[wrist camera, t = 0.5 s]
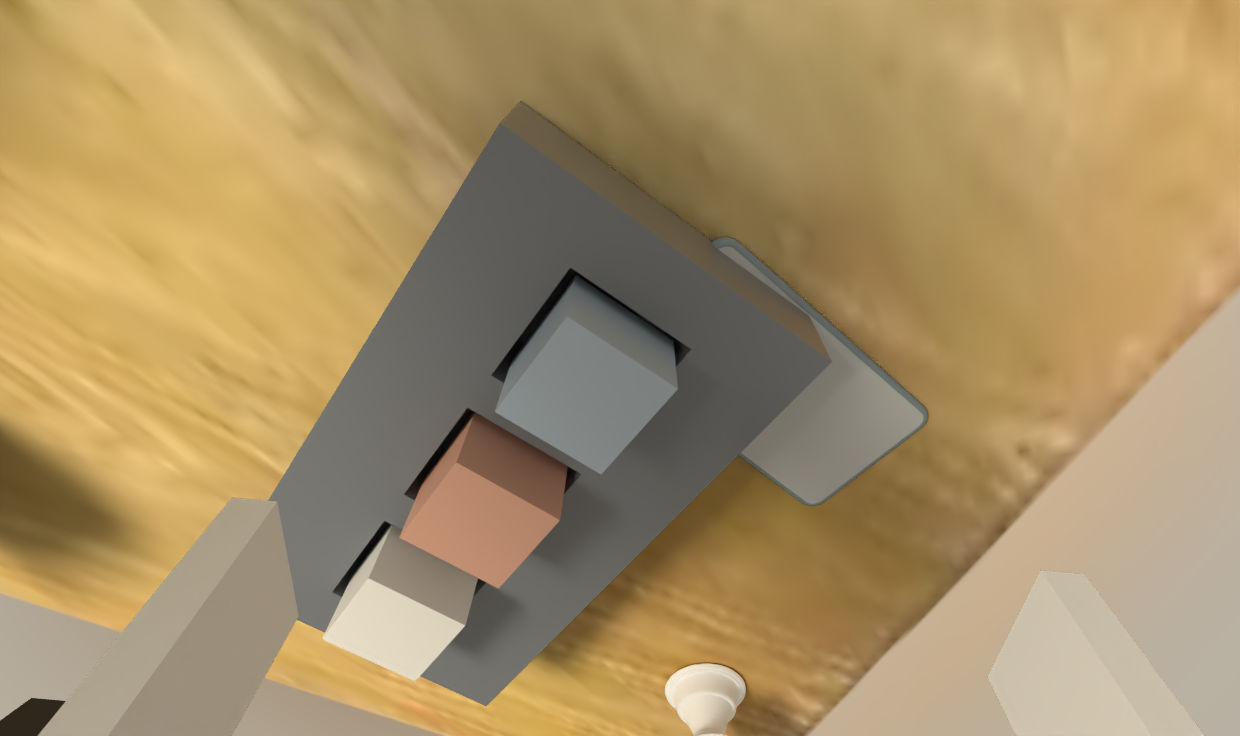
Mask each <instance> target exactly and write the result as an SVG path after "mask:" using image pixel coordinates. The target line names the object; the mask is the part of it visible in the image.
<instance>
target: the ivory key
mask: <svg viewBox="0 0 1240 736" xmlns="http://www.w3.org/2000/svg"><path fill="white" fill-rule="evenodd" d="M401 532H402V530H401V529H399V528H397V527H395V526H393V525H390V526H389V527H388V529H387V530H386V531H385V533H384V534H383V535H382V537H381V538H380V539H379V541H378V542H377V543H376V545H375V546H374V547H373V549H372V550H371V551H370V553H369V554H368V556H367V557H366V558H365V560H364V561H363V562H362V564H361V565H360V566H359V568H358V569H357V570H356V572H355V573H354V574H353V576H352V577H351V579H350V581H349V584H348V586H347V588H346V590H345V592H344V594H343V596H342V598H341V600H340V602H339V604H338V607H337V609H336V611H335V613H334V615H333V617H332V619H331V621H330V623H329V625H328V627H327V630H326V632H325V634H324V636H323V638H322V639H323V640H325V641H327V642H329V643H331V644H334V645H336V646H338V647H340V648H342V649H345V650H347V651H349V652H351V653H353V654H356V655H358V656H360V657H362V658H365V659H367V660H369V661H371V662H373V663H376V664H378V665H380V666H382V667H384V668H387V669H389V670H391V671H393V672H395V673H398V674H400V675H402V676H404V677H406V678H409V679H411V680H413V681H416V680H417V679H418V678H419V677H420V676H421V674H422V673H423V672H424V671H425V670H426V669H427V668H428V667H429V666H430V664H431V663H432V662H433V661H434V660H435V659H436V658H437V657H438V656H439V654H440V653H441V652H442V651H443V650H444V649H445V648H446V647H447V645H448V644H449V643H450V642H451V641H452V640H453V639H454V638H455V637H456V635H457V634H458V633H459V632H460V631H461V630H462V629H463V628H464V627H465V625H466V621H467V618H468V614H469V610H470V606H471V603H472V599H473V595H474V592H475V588H476V584H477V580H478V578H477V577H475V576H473V575H471V574H469V573H467V572H465V571H463V570H461V569H459V568H457V567H455V566H453V565H452V564H450V563H448V562H446V561H444V560H442V559H440V558H438V557H436V556H434V555H432V554H430V553H428V552H426V551H424V550H422V549H420V548H418V547H416V546H414V545H412V544H410V543H408V542H407V541H405V540H403V539H401V538H399V537H400V534H401Z"/></svg>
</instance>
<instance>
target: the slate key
mask: <svg viewBox="0 0 1240 736" xmlns="http://www.w3.org/2000/svg"><path fill="white" fill-rule="evenodd" d="M677 389H678V384H677V373H676V363H675V352H674V342H673V340H672V339H670V338H669V337H667V336H666V335H664V334H663V333H661V332H660V331H658V330H657V329H655V328H654V327H652V326H651V325H649V324H648V323H646V322H645V321H644V320H642V319H641V318H639V317H638V316H636V315H635V314H633V313H632V312H630V311H629V310H627V309H626V308H624V307H623V306H621V305H620V304H618V303H617V302H615V301H614V300H612V299H611V298H609V297H608V296H606V295H605V294H603V293H602V292H600V291H599V290H598V289H596V288H595V287H593V286H592V285H590V284H589V283H587V282H586V281H584V280H583V279H581V278H580V277H578V276H577V275H575V277H574V278H573V279H572V281H571V282H570V283H569V285H568V286H567V287H566V289H565V290H564V292H563V293H562V294H561V296H560V297H559V298H558V300H557V301H556V302H555V304H554V305H553V306H552V308H551V309H550V310H549V312H548V313H547V314H546V316H545V317H544V318H543V320H542V321H541V323H540V324H539V325H538V327H537V328H536V329H535V331H534V332H533V333H532V335H531V336H530V337H529V339H528V340H527V341H526V343H525V344H524V345H523V347H522V348H521V349H520V351H519V352H518V353H517V355H516V356H515V358H514V359H513V360H512V362H511V364H510V367H509V370H508V373H507V376H506V379H505V382H504V385H503V388H502V391H501V394H500V397H499V400H498V403H497V406H496V409H495V412H496V413H498V414H499V415H501V416H503V417H504V418H506V419H508V420H509V421H511V422H513V423H515V424H516V425H518V426H520V427H521V428H523V429H525V430H526V431H528V432H530V433H531V434H533V435H535V436H537V437H538V438H540V439H542V440H543V441H545V442H547V443H548V444H550V445H552V446H554V447H555V448H557V449H559V450H560V451H562V452H564V453H565V454H567V455H569V456H571V457H572V458H574V459H576V460H577V461H579V462H581V463H582V464H584V465H586V466H588V467H589V468H591V469H593V470H594V471H596V472H598V473H599V474H602V473H603V472H604V471H605V470H606V468H607V467H608V466H609V465H610V464H611V463H612V462H613V461H614V460H615V458H616V457H617V456H618V455H619V454H620V453H621V452H622V451H623V450H624V448H625V447H626V446H627V445H628V444H629V443H630V442H631V441H632V440H633V438H634V437H635V436H636V435H637V434H638V433H639V432H640V431H641V430H642V428H643V427H644V426H645V425H646V424H647V423H648V422H649V421H650V419H651V418H652V417H653V416H654V415H655V414H656V413H657V412H658V411H659V409H660V408H661V407H662V406H663V405H664V404H665V403H666V402H667V401H668V399H669V398H670V397H671V396H672V395H673V394H674V393H675V392H676V391H677Z"/></svg>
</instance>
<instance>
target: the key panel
mask: <svg viewBox="0 0 1240 736" xmlns="http://www.w3.org/2000/svg"><path fill="white" fill-rule="evenodd" d="M575 275H577V276H578V277H580V278H581V279H583V280H584V281H586V282H587V283H589V284H590V285H592V286H593V287H595V288H596V289H598V290H599V291H600V292H602V293H603V294H605V295H606V296H608V297H609V298H611V299H612V300H614V301H615V302H617V303H618V304H620V305H621V306H623V307H624V308H626V309H627V310H629V311H630V312H632V313H633V314H635V315H636V316H638V317H639V318H641V319H642V320H644V321H645V322H646V323H648V324H649V325H651V326H652V327H654V328H655V329H657V330H658V331H660V332H661V333H663V334H664V335H666V336H667V337H669V338H670V339H672V340H673V342H674V352H675V363H676V373H677V384H678V389H677V391H676V392H675V393H674V394H673V395H672V396H671V397H670V398H669V399H668V401H667V402H666V403H665V404H664V405H663V406H662V407H661V408H660V409H659V411H658V412H657V413H656V414H655V415H654V416H653V417H652V418H651V419H650V421H649V422H648V423H647V424H646V425H645V426H644V427H643V428H642V430H641V431H640V432H639V433H638V434H637V435H636V436H635V437H634V438H633V440H632V441H631V442H630V443H629V444H628V445H627V446H626V447H625V448H624V450H623V451H622V452H621V453H620V454H619V455H618V456H617V457H616V458H615V460H614V461H613V462H612V463H611V464H610V465H609V466H608V467H607V468H606V470H605V471H604V472H603V473H602V474H599V473H598V472H596V471H594V470H593V469H591V468H589V467H588V466H586V465H584V464H582V463H581V462H579V461H577V460H576V459H574V458H572V457H571V456H569V455H567V454H565V453H564V452H562V451H560V450H559V449H557V448H555V447H554V446H552V445H550V444H548V443H547V442H545V441H543V440H542V439H540V438H538V437H537V436H535V435H533V434H531V433H530V432H528V431H526V430H525V429H523V428H521V427H520V426H518V425H516V424H515V423H513V422H511V421H509V420H508V419H506V418H504V417H503V416H501V415H499V414H498V413H496V412H495V409H496V406H497V403H498V400H499V397H500V394H501V391H502V388H503V385H504V382H505V379H506V376H507V373H508V370H509V367H510V364H511V362H512V360H513V359H514V358H515V356H516V355H517V353H518V352H519V351H520V349H521V348H522V347H523V345H524V344H525V343H526V341H527V340H528V339H529V337H530V336H531V335H532V333H533V332H534V331H535V329H536V328H537V327H538V325H539V324H540V323H541V321H542V320H543V318H544V317H545V316H546V314H547V313H548V312H549V310H550V309H551V308H552V306H553V305H554V304H555V302H556V301H557V300H558V298H559V297H560V296H561V294H562V293H563V292H564V290H565V289H566V287H567V286H568V285H569V283H570V282H571V281H572V279H573V278H574V277H575ZM831 362H832V360H831V358H830V356H829V354H828V352H827V350H826V348H825V346H824V344H823V342H822V340H821V338H820V336H819V334H818V332H817V330H816V328H815V326H814V324H813V322H812V320H811V318H810V316H809V315H808V314H806V313H805V312H803V311H802V310H801V309H799V308H798V307H797V306H795V305H794V304H792V303H791V302H790V301H788V300H787V299H786V298H784V297H783V296H781V295H780V294H779V293H777V292H776V291H775V290H773V289H772V288H770V287H769V286H768V285H766V284H765V283H764V282H762V281H761V280H759V279H758V278H757V277H755V276H754V275H753V274H751V273H750V272H748V271H747V270H746V269H744V268H743V267H742V266H740V265H739V264H737V263H736V262H735V261H733V260H732V259H731V258H729V257H728V256H726V255H725V254H724V253H722V252H721V251H720V250H718V249H717V248H716V247H714V245H713V244H712V241H711V240H709V239H708V238H707V237H705V236H704V235H702V234H701V233H700V232H698V231H697V230H696V229H694V228H693V227H692V226H690V225H689V224H688V223H686V222H685V221H683V220H682V219H681V218H679V217H678V216H677V215H675V214H674V213H673V212H671V211H670V210H668V209H667V208H666V207H664V206H663V205H662V204H660V203H659V202H658V201H656V200H655V199H654V198H652V197H651V196H649V195H648V194H647V193H645V192H644V191H643V190H641V189H640V188H639V187H637V186H636V185H634V184H633V183H632V182H630V181H629V180H628V179H626V178H625V177H624V176H622V175H621V174H620V173H618V172H617V171H615V170H614V169H613V168H611V167H610V166H609V165H607V164H606V163H605V162H603V161H602V160H600V159H599V158H598V157H596V156H595V155H594V154H592V153H591V152H590V151H588V150H587V149H586V148H584V147H583V146H581V145H580V144H579V143H577V142H576V141H575V140H573V139H572V138H571V137H569V136H568V135H566V134H565V133H564V132H562V131H561V130H560V129H558V128H557V127H556V126H554V125H553V124H551V123H550V122H549V121H547V120H546V119H545V118H543V117H542V116H541V115H539V114H538V113H537V112H535V111H534V110H532V109H531V108H530V107H528V106H527V105H526V104H524V103H523V102H522V101H520V102H519V103H518V105H517V106H516V107H515V108H514V109H513V110H512V111H511V112H510V113H509V114H508V115H507V116H506V117H505V118H504V119H503V120H502V121H501V122H500V124H499V125H498V127H497V129H496V130H495V132H494V134H493V135H492V137H491V139H490V140H489V142H488V143H487V145H486V147H485V148H484V150H483V152H482V153H481V155H480V156H479V158H478V160H477V161H476V163H475V165H474V166H473V168H472V169H471V171H470V173H469V174H468V176H467V178H466V179H465V181H464V183H463V184H462V186H461V187H460V189H459V191H458V192H457V194H456V196H455V197H454V199H453V200H452V202H451V204H450V205H449V207H448V209H447V210H446V212H445V213H444V215H443V217H442V218H441V220H440V222H439V223H438V225H437V227H436V228H435V230H434V231H433V233H432V235H431V236H430V238H429V240H428V241H427V243H426V244H425V246H424V248H423V249H422V251H421V253H420V254H419V256H418V257H417V259H416V261H415V262H414V264H413V266H412V267H411V269H410V271H409V272H408V274H407V275H406V277H405V279H404V280H403V282H402V284H401V285H400V287H399V288H398V290H397V292H396V293H395V295H394V297H393V298H392V300H391V301H390V303H389V305H388V306H387V308H386V310H385V311H384V313H383V315H382V316H381V318H380V319H379V321H378V323H377V324H376V326H375V328H374V329H373V331H372V332H371V334H370V336H369V337H368V339H367V341H366V342H365V344H364V345H363V347H362V349H361V350H360V352H359V354H358V355H357V357H356V359H355V360H354V362H353V363H352V365H351V367H350V368H349V370H348V372H347V373H346V375H345V376H344V378H343V380H342V381H341V383H340V385H339V386H338V388H337V389H336V391H335V393H334V394H333V396H332V398H331V399H330V401H329V403H328V404H327V406H326V407H325V409H324V411H323V412H322V414H321V416H320V417H319V419H318V420H317V422H316V424H315V425H314V427H313V429H312V430H311V432H310V433H309V435H308V437H307V438H306V440H305V442H304V443H303V445H302V447H301V448H300V450H299V451H298V453H297V455H296V456H295V458H294V460H293V461H292V463H291V464H290V466H289V468H288V469H287V471H286V473H285V474H284V476H283V477H282V479H281V481H280V482H279V484H278V486H277V487H276V489H275V491H274V492H273V494H272V495H271V497H270V499H269V500H268V501H276V502H277V504H278V509H279V514H280V519H281V525H282V530H283V535H284V541H285V546H286V551H287V557H288V562H289V567H290V573H291V578H292V583H293V589H294V594H295V599H296V605H297V610H298V615H299V616H298V618H297V620H299V621H301V622H303V623H305V624H307V625H310V626H312V627H314V628H316V629H318V630H321V631H323V632H326V630H327V627H328V625H329V623H330V621H331V619H332V617H333V615H334V613H335V611H336V609H337V607H338V604H339V602H340V600H341V598H342V596H343V594H344V592H345V590H346V588H347V586H348V584H349V581H350V579H351V577H352V576H353V574H354V573H355V572H356V570H357V569H358V568H359V566H360V565H361V564H362V562H363V561H364V560H365V558H366V557H367V556H368V554H369V553H370V551H371V550H372V549H373V547H374V546H375V545H376V543H377V542H378V541H379V539H380V538H381V537H382V535H383V534H384V533H385V531H386V530H387V529H388V527H389V526H390V525H393V526H395V527H397V528H399V529H401V530H403V527H404V525H405V523H406V520H407V518H408V516H409V513H410V511H411V509H412V506H413V504H414V502H415V499H416V497H417V494H418V492H419V490H420V487H421V485H422V483H423V480H424V479H425V477H426V476H427V475H428V473H429V472H430V471H431V469H432V468H433V467H434V465H435V464H436V463H437V461H438V460H439V459H440V457H441V456H442V455H443V453H444V452H445V450H446V449H447V448H448V446H449V445H450V444H451V442H452V441H453V440H454V438H455V437H456V436H457V434H458V433H459V432H460V430H461V429H462V428H463V426H464V425H465V424H466V422H467V421H468V419H469V418H470V417H471V415H472V414H473V413H474V412H476V413H478V414H479V415H481V416H483V417H484V418H486V419H488V420H490V421H491V422H493V423H495V424H496V425H498V426H500V427H502V428H503V429H505V430H507V431H508V432H510V433H512V434H514V435H515V436H517V437H519V438H520V439H522V440H524V441H526V442H527V443H529V444H531V445H532V446H534V447H536V448H538V449H539V450H541V451H543V452H544V453H546V454H548V455H550V456H551V457H553V458H555V459H556V460H558V461H560V462H562V463H563V464H565V465H567V466H568V469H567V476H566V483H565V489H564V496H563V503H562V510H561V517H560V521H559V522H558V523H557V524H556V525H555V526H554V527H553V529H552V530H551V531H550V532H549V533H548V534H547V535H546V536H545V538H544V539H543V540H542V541H541V542H540V543H539V544H538V545H537V546H536V548H535V549H534V550H533V551H532V552H531V553H530V554H529V555H528V556H527V558H526V559H525V560H524V561H523V562H522V563H521V564H520V565H519V566H518V568H517V569H516V570H515V571H514V572H513V573H512V574H511V575H510V576H509V578H508V579H507V580H506V581H505V582H504V583H503V584H502V585H501V586H500V588H499V589H498V588H496V587H495V586H493V585H491V584H489V583H487V582H485V581H483V580H481V579H479V578H478V580H477V584H476V588H475V592H474V595H473V599H472V603H471V606H470V610H469V614H468V618H467V621H466V625H465V627H464V628H463V629H462V630H461V631H460V632H459V633H458V634H457V635H456V637H455V638H454V639H453V640H452V641H451V642H450V643H449V644H448V645H447V647H446V648H445V649H444V650H443V651H442V652H441V653H440V654H439V656H438V657H437V658H436V659H435V660H434V661H433V662H432V663H431V664H430V666H429V667H428V668H427V669H426V670H425V671H424V672H423V673H422V674H421V677H423V678H426V679H428V680H430V681H432V682H434V683H437V684H439V685H441V686H443V687H445V688H448V689H450V690H452V691H454V692H456V693H459V694H461V695H463V696H465V697H467V698H469V699H472V700H474V701H476V702H478V703H480V704H483V705H485V706H487V705H488V704H489V703H490V702H491V701H492V700H493V699H494V698H495V697H496V696H497V695H498V694H499V693H500V692H501V691H502V690H503V689H504V688H505V687H506V686H507V685H508V684H509V683H510V682H511V681H512V680H513V679H514V678H515V677H516V676H517V675H518V674H519V673H520V672H521V671H522V670H523V669H524V668H525V667H526V666H527V665H528V664H529V663H530V662H531V661H532V660H533V659H534V658H535V657H536V656H537V655H538V654H539V653H540V652H541V651H542V650H543V649H544V648H545V647H546V646H547V645H548V644H549V643H550V642H551V641H552V640H553V639H554V638H555V637H556V636H557V635H558V634H559V633H560V632H561V631H562V630H563V629H564V628H565V627H566V626H567V625H568V624H569V623H570V622H571V621H572V620H573V619H574V618H575V617H576V616H577V615H578V614H579V613H580V612H581V611H582V610H583V609H584V608H585V607H586V606H587V605H588V604H589V603H590V602H591V601H592V600H593V599H594V598H595V597H596V596H597V595H598V594H599V593H600V592H601V591H602V590H603V589H604V588H605V587H606V586H607V585H608V584H610V583H611V582H612V581H613V580H614V579H615V578H616V577H617V576H618V575H619V574H620V573H621V572H622V571H623V570H624V569H625V568H626V567H627V566H628V565H629V564H630V563H631V562H632V561H633V560H634V559H635V558H636V557H637V556H638V555H639V554H640V553H641V552H642V551H643V550H644V549H645V548H646V547H647V546H648V545H649V544H650V543H651V542H652V541H653V540H654V539H655V538H656V537H657V536H658V535H659V534H660V533H661V532H662V531H663V530H664V529H665V528H666V527H667V526H668V525H669V524H670V523H671V522H672V521H673V520H674V519H675V518H676V517H677V516H678V515H679V514H680V513H681V512H682V511H683V510H684V509H685V508H686V507H687V506H688V505H689V504H690V503H691V502H692V501H693V500H694V499H695V498H696V497H697V496H698V495H699V494H700V493H701V492H702V491H703V490H704V489H705V488H706V487H707V486H708V485H709V484H710V483H711V482H712V481H713V480H714V479H715V478H716V477H717V476H718V475H719V474H720V473H721V472H722V471H723V470H724V469H725V468H726V467H727V466H728V465H729V464H730V463H731V462H732V461H733V460H734V459H735V458H736V457H737V456H738V455H739V454H740V453H741V452H742V451H743V450H744V449H745V448H746V447H747V446H748V445H749V444H750V443H751V442H752V441H753V440H754V439H755V438H756V437H757V436H758V435H759V434H760V433H761V432H762V431H763V430H764V429H765V428H766V427H767V426H768V425H769V424H770V423H771V422H772V421H773V420H774V419H775V418H776V417H777V416H778V415H779V414H780V413H781V412H782V411H783V410H784V409H785V408H786V407H787V406H788V405H789V404H790V403H791V402H792V401H793V400H794V399H795V398H796V397H797V396H798V395H799V394H800V393H801V392H802V391H803V390H804V389H805V388H806V387H807V386H808V385H809V384H810V383H811V382H812V381H813V380H814V379H815V378H816V377H817V376H818V375H819V374H820V373H821V372H822V371H823V370H824V369H825V368H826V367H827V366H828V365H829V364H830V363H831Z"/></svg>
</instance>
